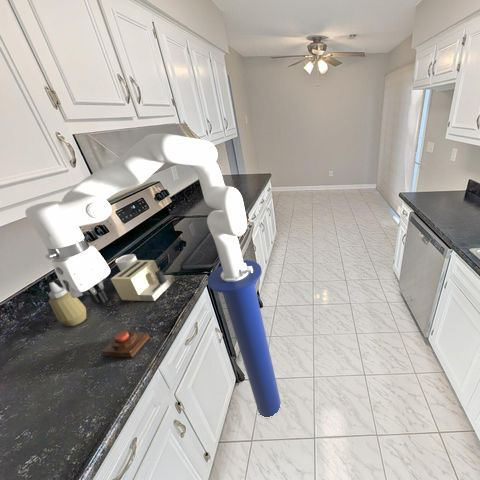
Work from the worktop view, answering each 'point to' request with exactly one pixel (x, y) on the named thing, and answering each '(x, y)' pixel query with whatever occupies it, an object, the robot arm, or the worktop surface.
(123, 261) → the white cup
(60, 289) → the squeeze bottle
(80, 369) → the worktop surface
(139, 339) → the base
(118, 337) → the timer button
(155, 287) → the toaster
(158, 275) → the toaster slider
